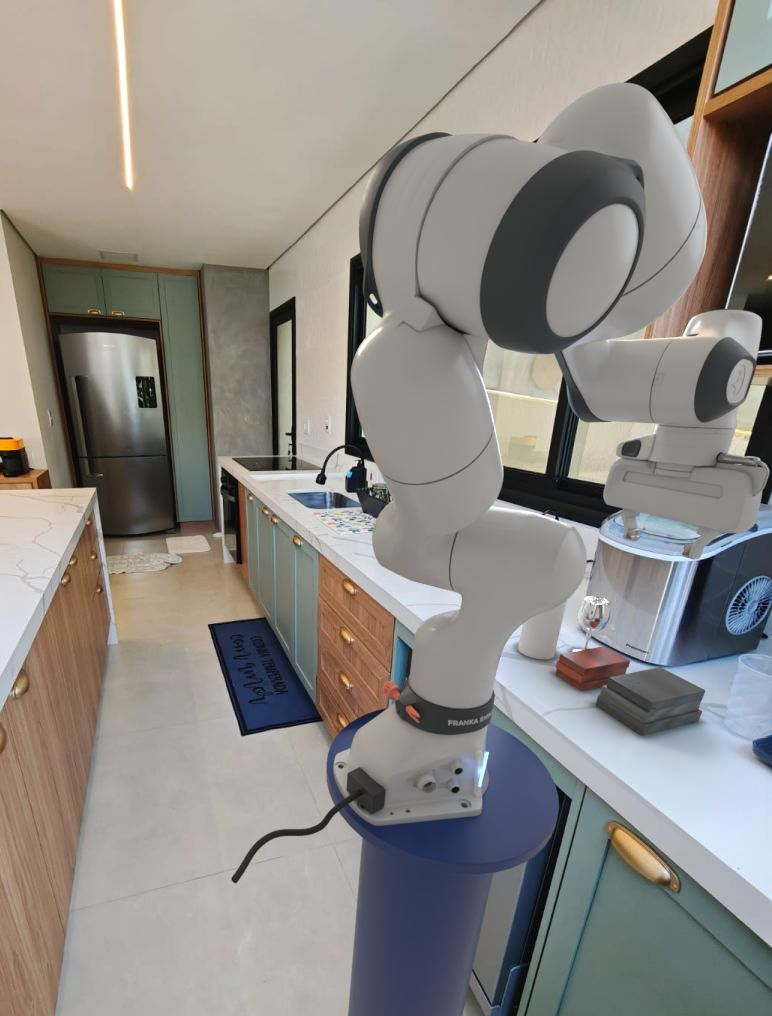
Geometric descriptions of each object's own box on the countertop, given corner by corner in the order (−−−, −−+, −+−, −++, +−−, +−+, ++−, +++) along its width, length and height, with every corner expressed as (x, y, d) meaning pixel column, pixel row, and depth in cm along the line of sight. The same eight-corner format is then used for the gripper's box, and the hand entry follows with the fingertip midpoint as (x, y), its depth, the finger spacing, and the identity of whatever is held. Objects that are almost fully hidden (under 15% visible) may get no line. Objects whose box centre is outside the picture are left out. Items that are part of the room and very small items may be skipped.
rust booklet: (583, 676, 90) (585, 668, 90) (558, 660, 95) (559, 653, 95) (628, 667, 94) (630, 660, 93) (602, 652, 99) (603, 646, 98)
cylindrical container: (531, 660, 101) (556, 540, 92) (511, 644, 108) (533, 530, 98) (561, 657, 103) (590, 539, 94) (540, 642, 109) (564, 529, 100)
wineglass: (581, 645, 109) (594, 593, 104) (605, 657, 104) (620, 603, 99) (562, 650, 106) (575, 597, 102) (586, 662, 101) (600, 608, 97)
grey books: (641, 736, 79) (651, 704, 77) (595, 705, 87) (603, 675, 85) (698, 721, 84) (710, 691, 81) (649, 693, 91) (658, 664, 89)
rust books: (579, 691, 91) (583, 677, 90) (553, 674, 97) (556, 660, 96) (624, 682, 95) (628, 668, 94) (597, 666, 100) (600, 652, 99)
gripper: (791, 458, 60) (750, 568, 65) (638, 442, 78) (616, 530, 83) (756, 458, 58) (717, 572, 63) (607, 442, 76) (586, 532, 81)
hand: (658, 548), depth 73 cm, fingers open, 8 cm apart
